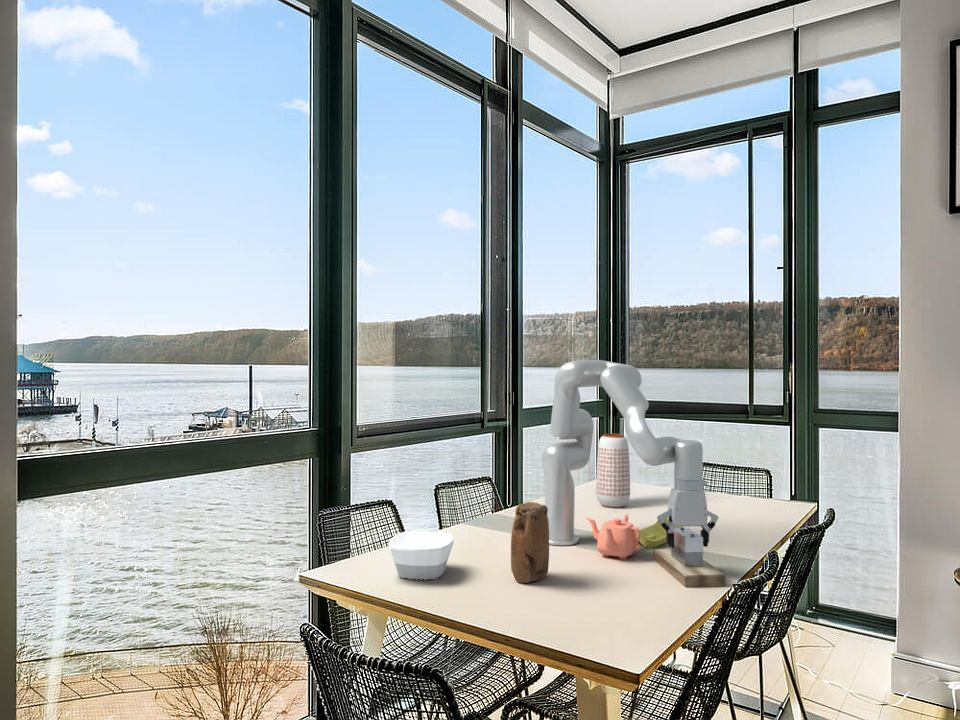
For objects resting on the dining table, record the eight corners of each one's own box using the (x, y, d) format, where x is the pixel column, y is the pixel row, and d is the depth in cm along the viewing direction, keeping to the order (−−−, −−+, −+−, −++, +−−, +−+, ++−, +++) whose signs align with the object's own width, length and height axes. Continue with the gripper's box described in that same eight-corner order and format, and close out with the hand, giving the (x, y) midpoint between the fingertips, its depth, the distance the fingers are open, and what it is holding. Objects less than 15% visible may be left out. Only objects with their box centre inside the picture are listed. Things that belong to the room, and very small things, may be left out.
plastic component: (651, 542, 216) (628, 523, 223) (644, 561, 219) (621, 541, 226) (689, 527, 229) (666, 509, 235) (681, 545, 232) (658, 527, 238)
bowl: (381, 582, 185) (381, 547, 185) (398, 562, 202) (398, 529, 202) (447, 585, 182) (447, 550, 182) (458, 565, 200) (458, 532, 200)
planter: (593, 501, 284) (594, 432, 283) (626, 502, 283) (627, 433, 283) (598, 509, 270) (598, 436, 270) (632, 509, 270) (633, 437, 269)
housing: (688, 555, 200) (688, 526, 200) (702, 566, 190) (703, 535, 190) (671, 556, 200) (671, 526, 199) (685, 566, 190) (685, 536, 189)
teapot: (606, 564, 201) (606, 526, 201) (585, 550, 215) (585, 515, 215) (651, 560, 206) (651, 523, 205) (627, 546, 219) (627, 512, 219)
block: (528, 570, 195) (529, 499, 195) (551, 576, 190) (552, 503, 190) (506, 581, 186) (507, 506, 186) (530, 587, 182) (530, 510, 181)
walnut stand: (685, 587, 182) (685, 575, 182) (653, 559, 206) (653, 549, 206) (725, 585, 183) (725, 574, 183) (689, 558, 207) (689, 548, 207)
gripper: (712, 481, 199) (711, 541, 199) (653, 482, 197) (652, 542, 198) (724, 487, 191) (723, 549, 192) (663, 488, 190) (662, 550, 190)
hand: (687, 545), depth 195 cm, fingers open, 9 cm apart
